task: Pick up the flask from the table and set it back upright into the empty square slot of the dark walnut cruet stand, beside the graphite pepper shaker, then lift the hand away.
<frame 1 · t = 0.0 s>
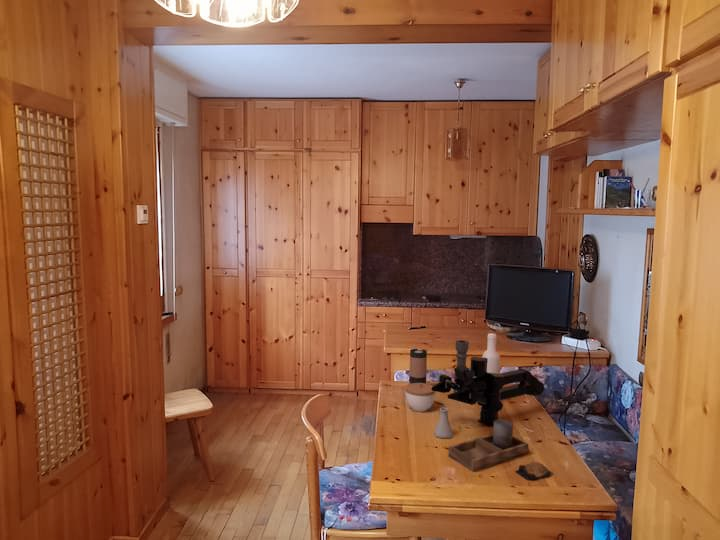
hand: (439, 392, 187), 17 cm above the table, tool horizontal, fingers open, 9 cm apart
cruet stand: (488, 455, 174), on the table
lidded bowl: (419, 409, 216), on the table
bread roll: (533, 475, 163), on the table
flask: (443, 435, 190), on the table
candle holder: (460, 396, 231), on the table
bottle: (489, 401, 225), on the table
travel mug: (417, 394, 233), on the table
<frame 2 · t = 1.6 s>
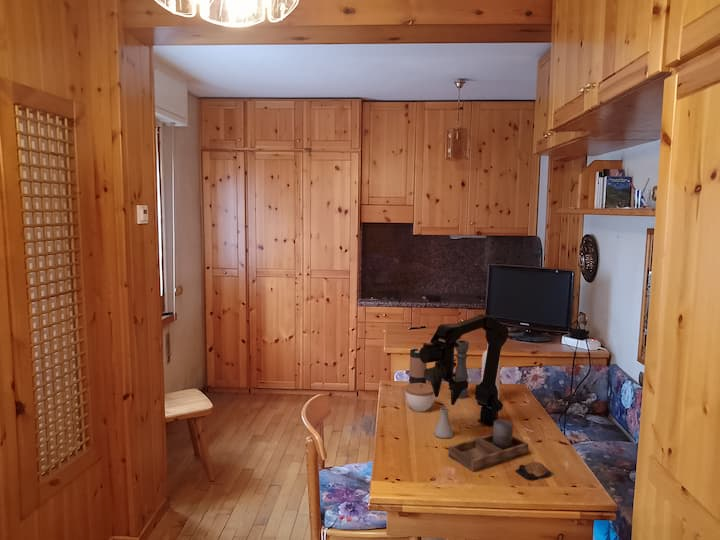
hand: (444, 400, 189), 13 cm above the table, tool pointing down, fingers open, 9 cm apart
nothing on the table moved.
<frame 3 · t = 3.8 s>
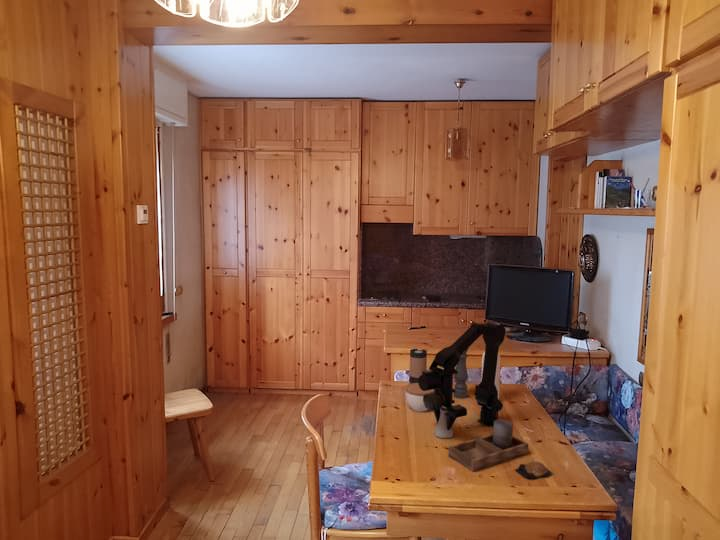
hand: (443, 427, 190), 3 cm above the table, tool pointing down, fingers closed on flask, 5 cm apart
flask: (443, 435, 190), on the table, touching gripper
everything else where it was.
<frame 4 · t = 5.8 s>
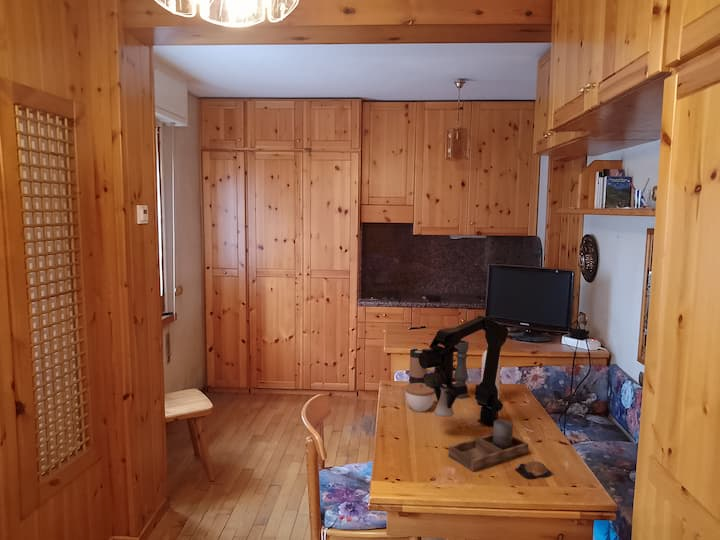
hand: (444, 405, 189), 11 cm above the table, tool pointing down, fingers closed on flask, 5 cm apart
flask: (444, 414, 189), point 8 cm above the table, touching gripper
everything else where it was.
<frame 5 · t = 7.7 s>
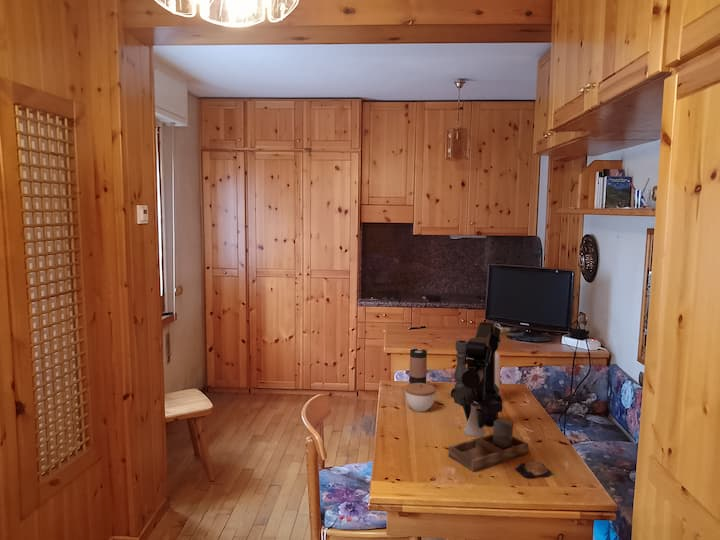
hand: (474, 424, 170), 12 cm above the table, tool pointing down, fingers closed on flask, 5 cm apart
flask: (474, 434, 170), point 9 cm above the table, touching gripper
everything else where it was.
when the fingers open (5 cm above the table, at t = 10.5 s): flask stays where it is, resting on cruet stand.
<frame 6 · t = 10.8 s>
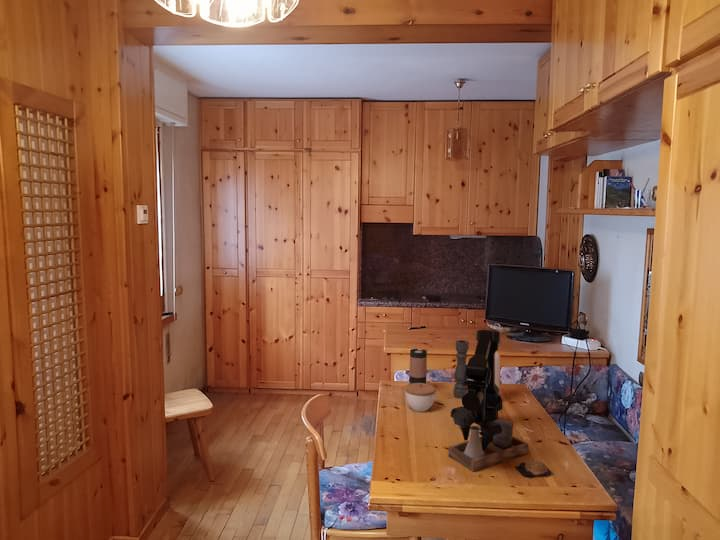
hand: (474, 445, 171), 5 cm above the table, tool pointing down, fingers open, 8 cm apart
flask: (474, 457, 171), point 1 cm above the table, touching cruet stand
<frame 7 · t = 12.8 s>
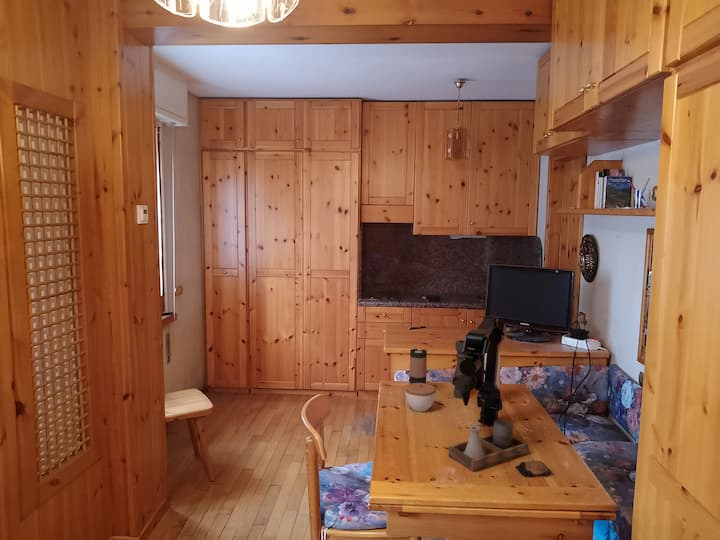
hand: (475, 409, 182), 12 cm above the table, tool pointing down, fingers open, 9 cm apart
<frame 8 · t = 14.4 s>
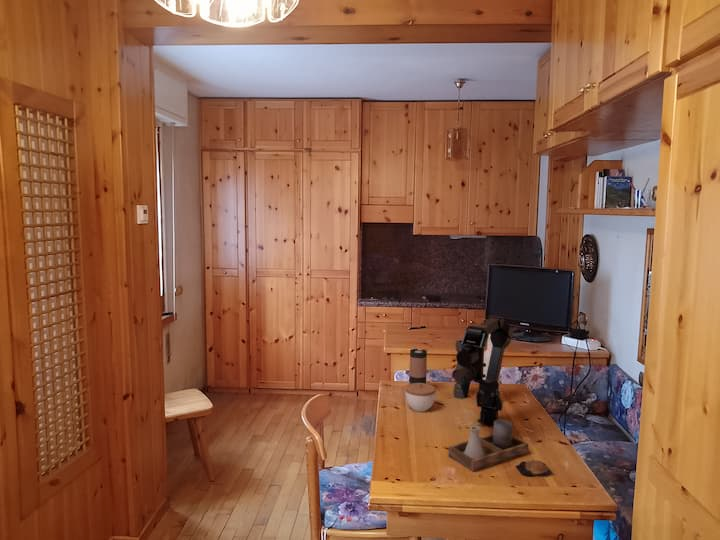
hand: (474, 401, 188), 13 cm above the table, tool pointing down, fingers open, 9 cm apart
at the end: flask 0.1 cm from the target spot on the cruet stand, point 0.8 cm above the cruet stand's base; flask tilted 0°; the gripper is holding nothing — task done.
